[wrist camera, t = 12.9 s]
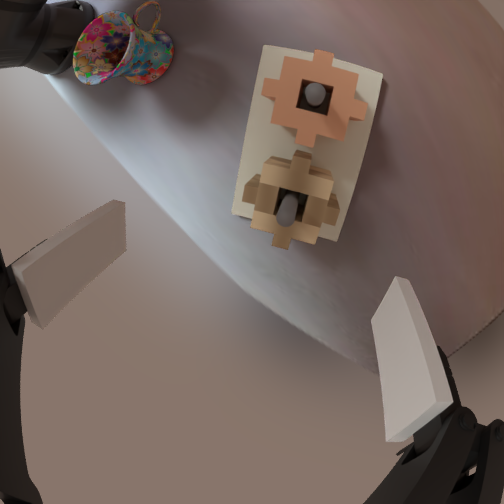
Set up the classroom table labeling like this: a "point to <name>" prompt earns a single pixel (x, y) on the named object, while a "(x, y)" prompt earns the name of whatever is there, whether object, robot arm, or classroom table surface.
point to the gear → (296, 179)
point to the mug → (122, 49)
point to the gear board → (323, 145)
